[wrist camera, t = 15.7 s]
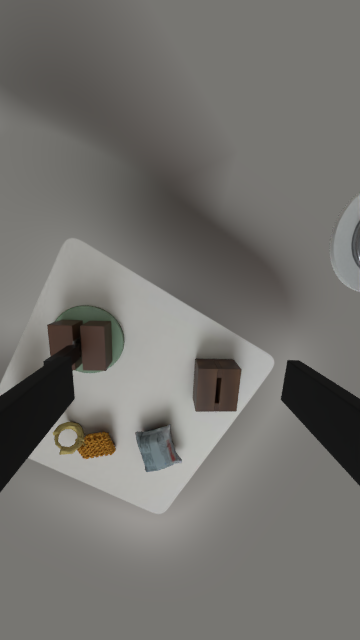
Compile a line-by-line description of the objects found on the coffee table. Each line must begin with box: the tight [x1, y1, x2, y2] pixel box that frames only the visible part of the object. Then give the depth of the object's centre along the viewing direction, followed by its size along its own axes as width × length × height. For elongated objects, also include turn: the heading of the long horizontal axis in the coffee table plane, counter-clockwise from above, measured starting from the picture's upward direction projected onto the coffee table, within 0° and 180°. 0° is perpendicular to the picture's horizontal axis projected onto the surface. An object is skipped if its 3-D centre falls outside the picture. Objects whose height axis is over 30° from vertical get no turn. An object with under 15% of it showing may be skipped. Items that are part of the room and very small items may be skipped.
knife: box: [44, 336, 82, 366], centre depth 34 cm, size 2×4×13 cm, turn 177°
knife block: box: [193, 359, 241, 411], centre depth 43 cm, size 9×10×5 cm
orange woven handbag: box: [53, 422, 116, 459], centre depth 44 cm, size 7×10×15 cm
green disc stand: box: [47, 306, 124, 373], centre depth 39 cm, size 15×15×5 cm
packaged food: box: [135, 424, 182, 472], centre depth 46 cm, size 9×12×5 cm
